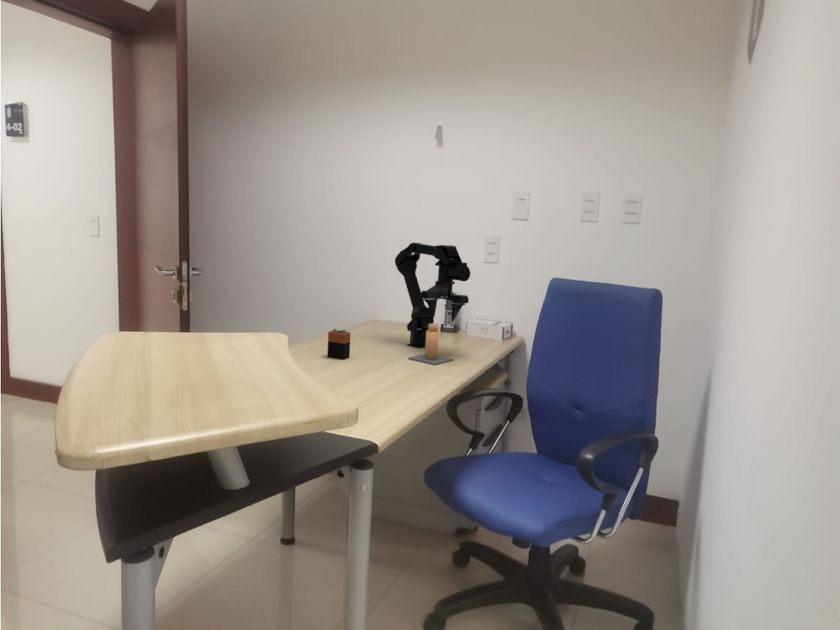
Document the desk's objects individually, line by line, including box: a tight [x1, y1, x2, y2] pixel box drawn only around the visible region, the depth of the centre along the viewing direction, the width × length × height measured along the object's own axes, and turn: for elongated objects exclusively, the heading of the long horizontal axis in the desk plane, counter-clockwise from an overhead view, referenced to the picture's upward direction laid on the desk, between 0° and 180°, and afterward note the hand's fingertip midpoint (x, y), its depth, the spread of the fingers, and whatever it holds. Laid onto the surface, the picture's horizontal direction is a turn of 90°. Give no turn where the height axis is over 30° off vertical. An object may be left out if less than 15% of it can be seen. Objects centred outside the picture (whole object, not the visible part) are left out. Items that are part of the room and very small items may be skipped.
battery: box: [326, 328, 351, 360], centre depth 201 cm, size 4×7×10 cm, turn 68°
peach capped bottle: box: [424, 323, 440, 360], centre depth 206 cm, size 5×5×12 cm
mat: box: [407, 353, 455, 366], centre depth 207 cm, size 12×12×1 cm
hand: (442, 319), depth 219 cm, fingers open, 9 cm apart
